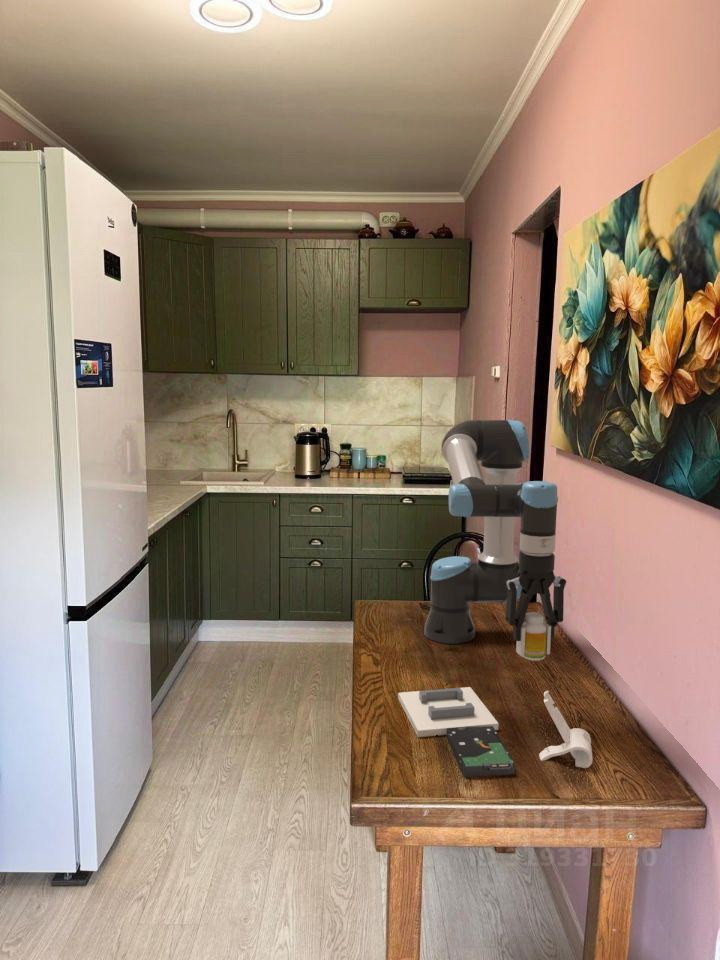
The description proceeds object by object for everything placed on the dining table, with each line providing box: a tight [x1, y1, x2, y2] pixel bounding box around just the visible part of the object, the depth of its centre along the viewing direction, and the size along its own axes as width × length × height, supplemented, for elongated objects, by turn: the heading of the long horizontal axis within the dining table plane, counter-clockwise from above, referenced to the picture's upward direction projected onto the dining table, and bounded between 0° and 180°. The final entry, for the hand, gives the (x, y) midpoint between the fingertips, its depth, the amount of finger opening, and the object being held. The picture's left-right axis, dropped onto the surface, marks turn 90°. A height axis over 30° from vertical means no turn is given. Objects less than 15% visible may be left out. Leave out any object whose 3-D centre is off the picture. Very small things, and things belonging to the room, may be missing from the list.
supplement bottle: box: [521, 611, 547, 662], centre depth 147 cm, size 5×5×10 cm
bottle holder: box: [397, 686, 499, 738], centre depth 150 cm, size 18×18×4 cm
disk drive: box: [445, 726, 516, 778], centre depth 133 cm, size 10×3×15 cm
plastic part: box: [538, 690, 593, 769], centre depth 132 cm, size 8×10×12 cm
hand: (532, 652), depth 148 cm, fingers closed on supplement bottle, 5 cm apart
